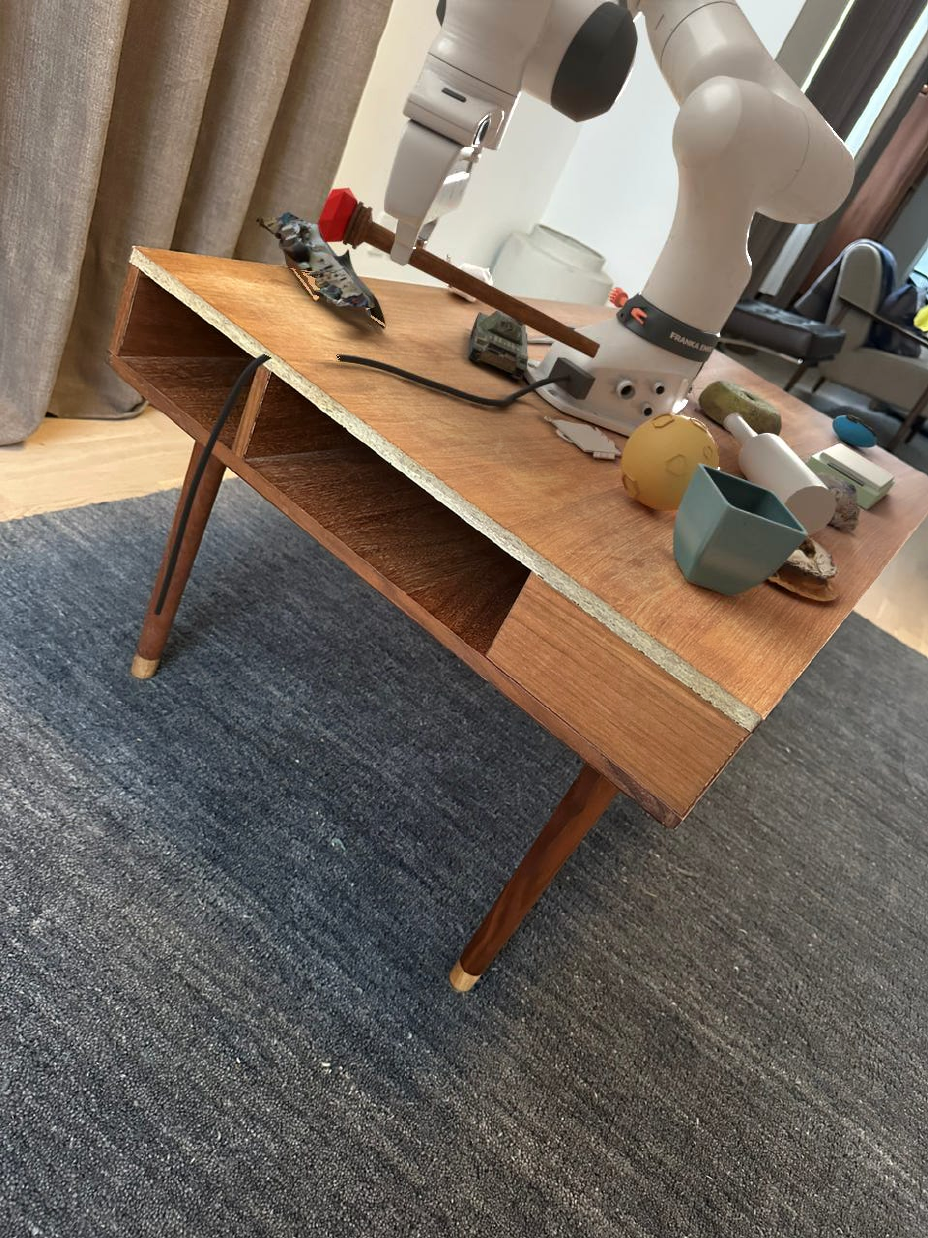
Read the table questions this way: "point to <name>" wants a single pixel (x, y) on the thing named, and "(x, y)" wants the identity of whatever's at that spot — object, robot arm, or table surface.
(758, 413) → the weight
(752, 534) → the flower pot
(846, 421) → the ornament
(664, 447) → the stress ball
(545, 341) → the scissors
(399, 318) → the table surface
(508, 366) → the toy tank
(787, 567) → the cake on gold board
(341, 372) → the table surface
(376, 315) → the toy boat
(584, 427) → the decorative emblem
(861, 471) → the pale green slotted box
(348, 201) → the decorative stake
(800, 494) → the bottle
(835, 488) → the mineral specimen
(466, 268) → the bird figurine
